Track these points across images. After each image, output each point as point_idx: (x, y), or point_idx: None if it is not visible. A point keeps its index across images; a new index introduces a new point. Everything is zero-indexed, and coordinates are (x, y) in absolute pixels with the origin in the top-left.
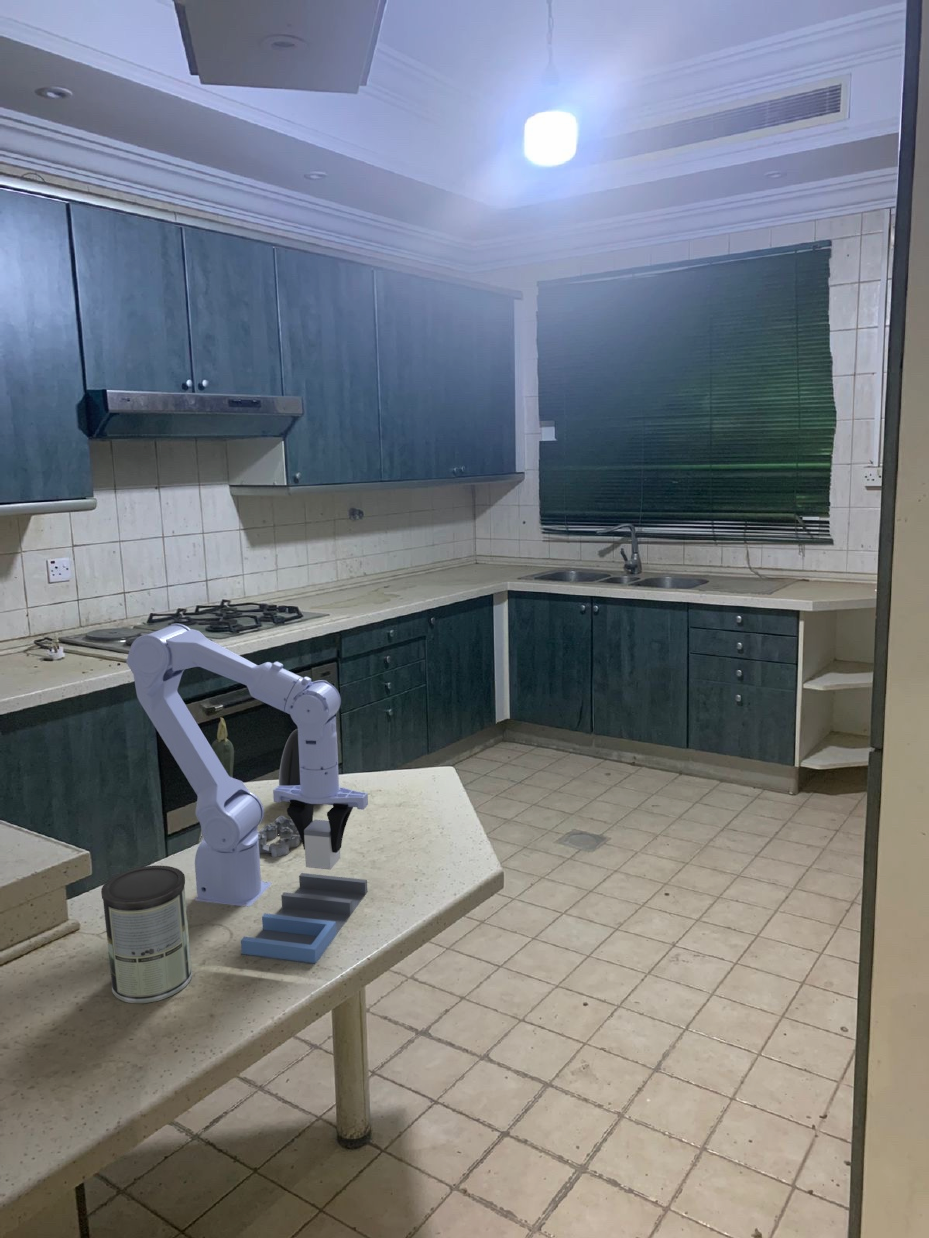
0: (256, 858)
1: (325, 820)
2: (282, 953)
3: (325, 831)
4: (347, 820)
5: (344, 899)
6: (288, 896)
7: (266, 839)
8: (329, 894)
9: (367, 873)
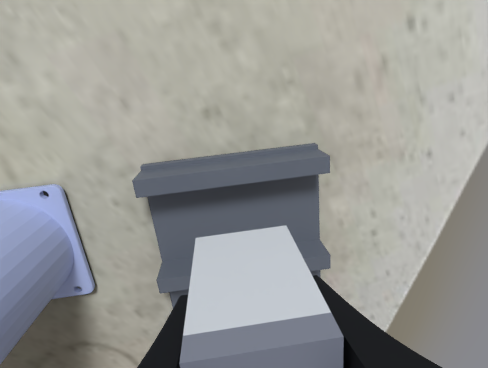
0: (9, 314)
1: (254, 350)
2: None
3: None
4: (415, 353)
5: (312, 258)
6: (178, 290)
7: None
8: (234, 191)
9: (267, 30)
